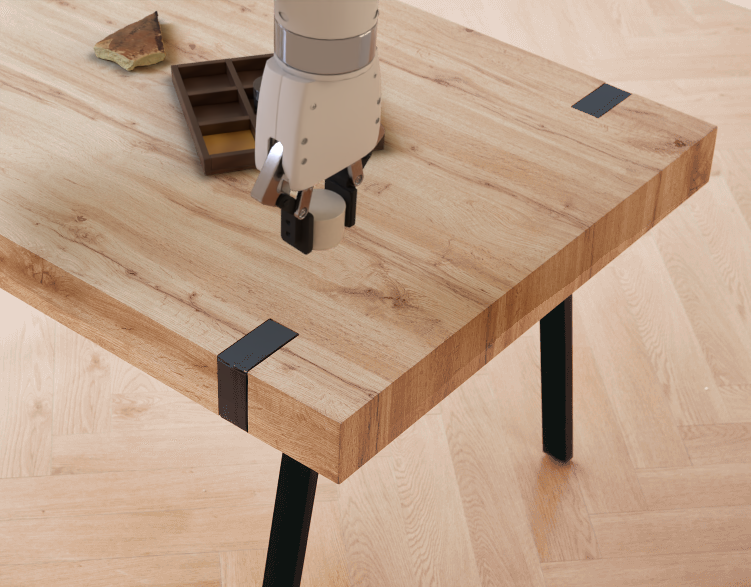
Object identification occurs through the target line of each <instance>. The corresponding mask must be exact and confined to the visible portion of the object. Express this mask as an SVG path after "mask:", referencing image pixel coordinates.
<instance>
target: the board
mask: <svg viewBox="0 0 751 587" xmlns="http://www.w3.org/2000/svg"><path fill="white" fill-rule="evenodd" d="M273 56H274V52H271V53H263V54H253V55H247V56H238V57H231V58H230V57H227V58H222V59H221V58H220V59H211V60H205V61H203V60H202V61H195V62H194V61H193V62H188V63H178V64H171V65H170V73H171V81H172V85H173V88H174V91H175V94H176V95H177V99H178V102H179V104H180V107H181V111H182V113H183V116H184V120H185V122H186V124H187V129H188V130H189V133H190V135H191V139H192V142H193V145H194V148H195V151H196V153H197V156H198V159H199V162H200V165H201V168H202V170H203V174H204V176H211V175H217V174H218V175H219V174H225V173H231V172H237V171H245V170H253V169H257V168H256V163H255V135H256V119H257V115H256V114H255V112H254V102H253V83H254V81H255V80H256V79H257V78H258V77H260V76H263V73H264V69H265V65H266V62H267V60H268V59H270V58H271V57H273ZM385 135H386V132H385V133H384V135H383V137H382V138H381V140H380V141H379V143H378V144H377V145H376V147H375V148H374V149H373V150H372V152H375V151H376V152H377V151H381V150H385V137H386V136H385Z"/></svg>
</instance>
